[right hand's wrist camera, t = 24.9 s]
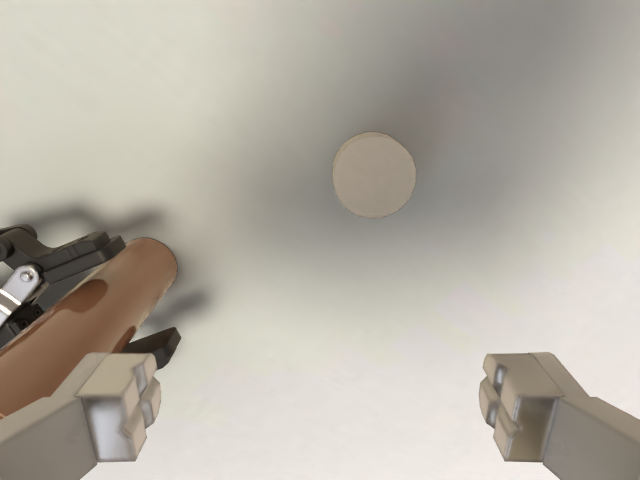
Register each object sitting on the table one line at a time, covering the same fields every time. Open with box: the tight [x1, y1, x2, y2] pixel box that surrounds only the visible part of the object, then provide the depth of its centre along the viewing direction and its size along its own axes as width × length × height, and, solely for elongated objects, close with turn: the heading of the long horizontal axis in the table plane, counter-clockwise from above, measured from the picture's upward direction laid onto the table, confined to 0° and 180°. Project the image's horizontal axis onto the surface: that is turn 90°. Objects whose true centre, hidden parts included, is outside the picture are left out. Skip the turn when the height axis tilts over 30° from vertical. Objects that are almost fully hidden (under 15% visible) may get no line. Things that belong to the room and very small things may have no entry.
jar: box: [0, 238, 177, 420], centre depth 21 cm, size 4×4×18 cm
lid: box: [332, 132, 416, 218], centre depth 26 cm, size 5×5×2 cm
